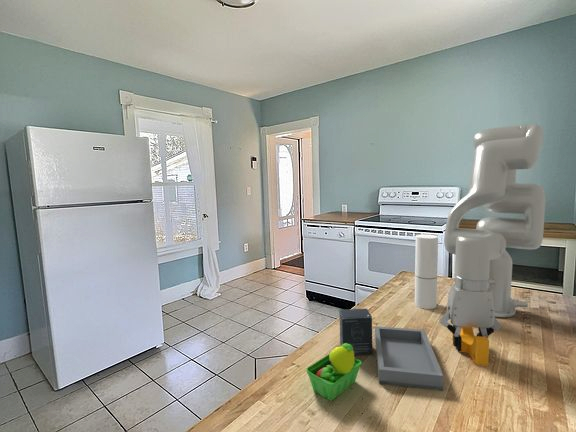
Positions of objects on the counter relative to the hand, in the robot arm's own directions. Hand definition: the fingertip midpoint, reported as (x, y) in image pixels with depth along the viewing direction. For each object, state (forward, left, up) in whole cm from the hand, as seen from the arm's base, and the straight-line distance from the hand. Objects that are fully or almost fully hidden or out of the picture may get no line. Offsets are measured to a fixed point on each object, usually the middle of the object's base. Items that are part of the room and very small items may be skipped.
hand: (468, 348), depth 81 cm
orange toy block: (0, 0, -1) cm, 1 cm away
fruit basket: (+33, +20, -1) cm, 39 cm away
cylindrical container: (+5, -29, -1) cm, 29 cm away
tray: (+17, +7, -1) cm, 18 cm away
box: (+29, +4, -1) cm, 29 cm away
